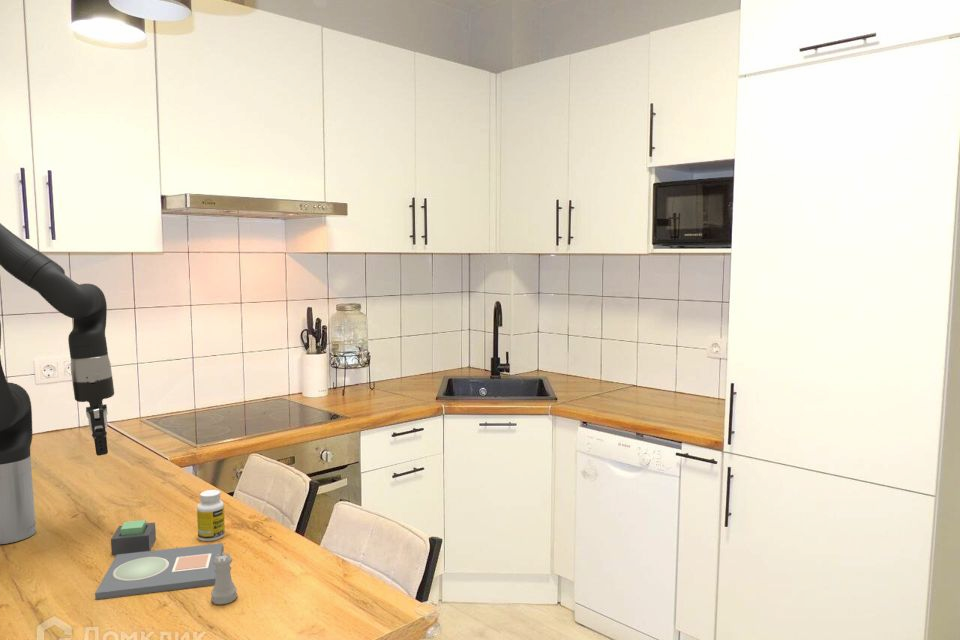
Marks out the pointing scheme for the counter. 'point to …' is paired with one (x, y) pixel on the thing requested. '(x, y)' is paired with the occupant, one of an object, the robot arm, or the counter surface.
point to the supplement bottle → (210, 516)
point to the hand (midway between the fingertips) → (102, 449)
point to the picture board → (160, 571)
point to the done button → (133, 527)
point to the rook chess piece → (223, 581)
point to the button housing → (133, 541)
